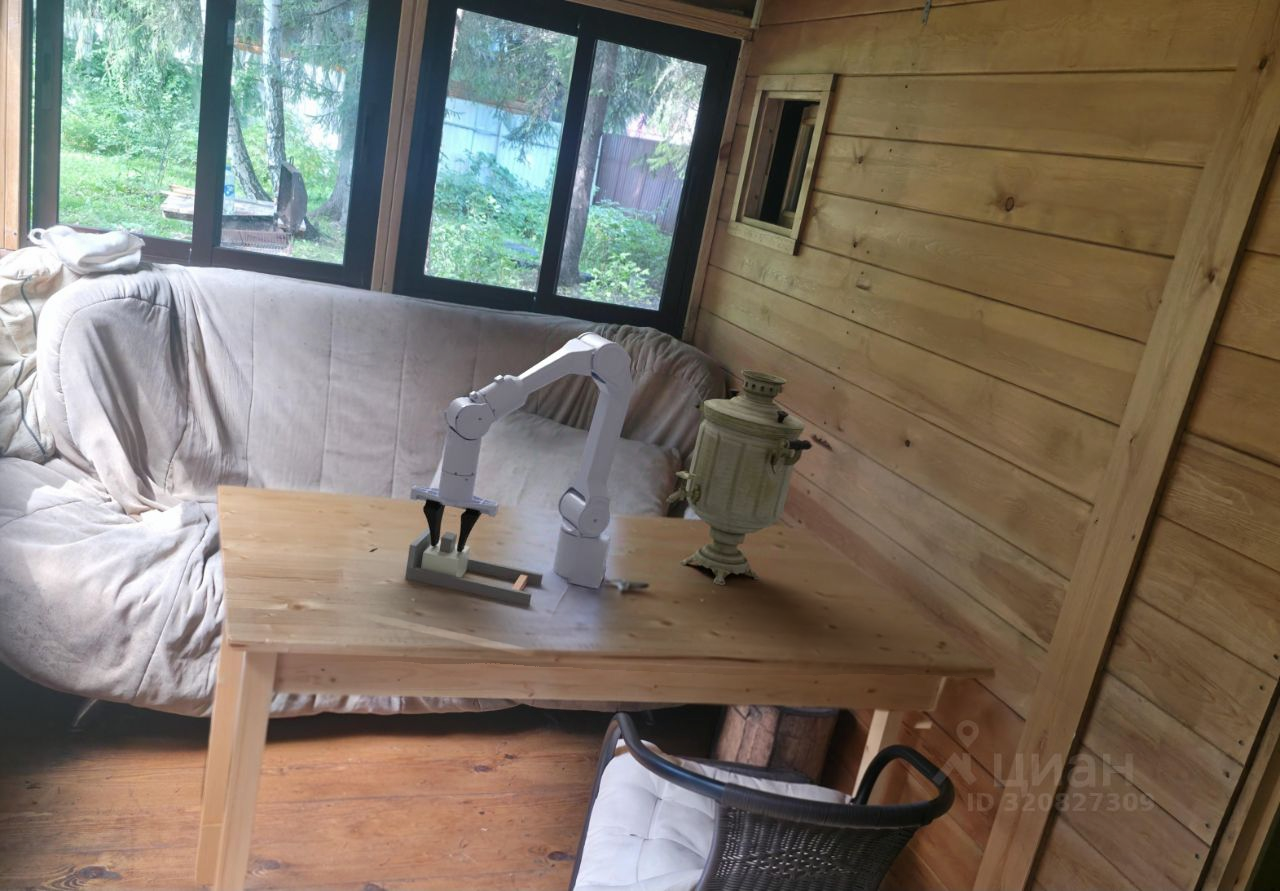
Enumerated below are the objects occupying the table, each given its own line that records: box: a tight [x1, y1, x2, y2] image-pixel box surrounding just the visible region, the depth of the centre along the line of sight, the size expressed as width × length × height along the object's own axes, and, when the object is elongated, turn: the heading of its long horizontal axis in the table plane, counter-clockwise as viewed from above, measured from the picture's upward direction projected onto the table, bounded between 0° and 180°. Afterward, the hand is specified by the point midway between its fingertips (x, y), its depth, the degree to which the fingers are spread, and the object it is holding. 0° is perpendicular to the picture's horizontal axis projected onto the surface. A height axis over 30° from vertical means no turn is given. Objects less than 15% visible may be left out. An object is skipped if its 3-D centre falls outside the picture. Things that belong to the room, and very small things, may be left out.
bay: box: [404, 526, 544, 607], centre depth 169 cm, size 21×12×7 cm, turn 83°
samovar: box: [666, 369, 814, 585], centre depth 195 cm, size 30×26×40 cm
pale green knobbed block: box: [421, 531, 471, 578], centre depth 170 cm, size 6×7×7 cm
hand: (447, 547), depth 169 cm, fingers open, 4 cm apart
